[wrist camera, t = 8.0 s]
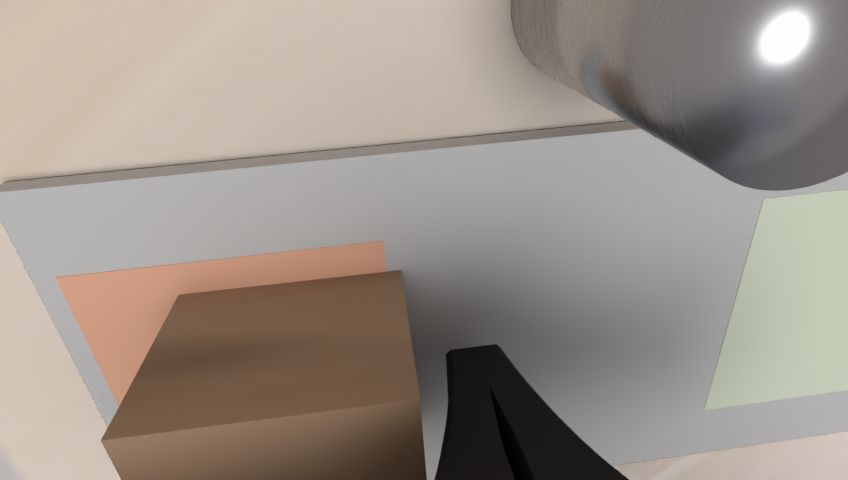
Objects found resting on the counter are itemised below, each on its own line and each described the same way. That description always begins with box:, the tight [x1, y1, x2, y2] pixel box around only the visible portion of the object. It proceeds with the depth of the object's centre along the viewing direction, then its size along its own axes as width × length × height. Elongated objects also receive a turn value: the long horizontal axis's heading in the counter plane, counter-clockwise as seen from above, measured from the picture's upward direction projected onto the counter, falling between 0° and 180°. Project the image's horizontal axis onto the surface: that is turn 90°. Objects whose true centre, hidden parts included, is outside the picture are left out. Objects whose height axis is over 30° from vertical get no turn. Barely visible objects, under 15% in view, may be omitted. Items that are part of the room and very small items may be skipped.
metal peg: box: [511, 0, 848, 191], centre depth 8 cm, size 3×3×6 cm
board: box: [0, 121, 848, 480], centre depth 14 cm, size 11×24×1 cm, turn 94°
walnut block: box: [101, 270, 427, 480], centre depth 11 cm, size 5×5×4 cm
